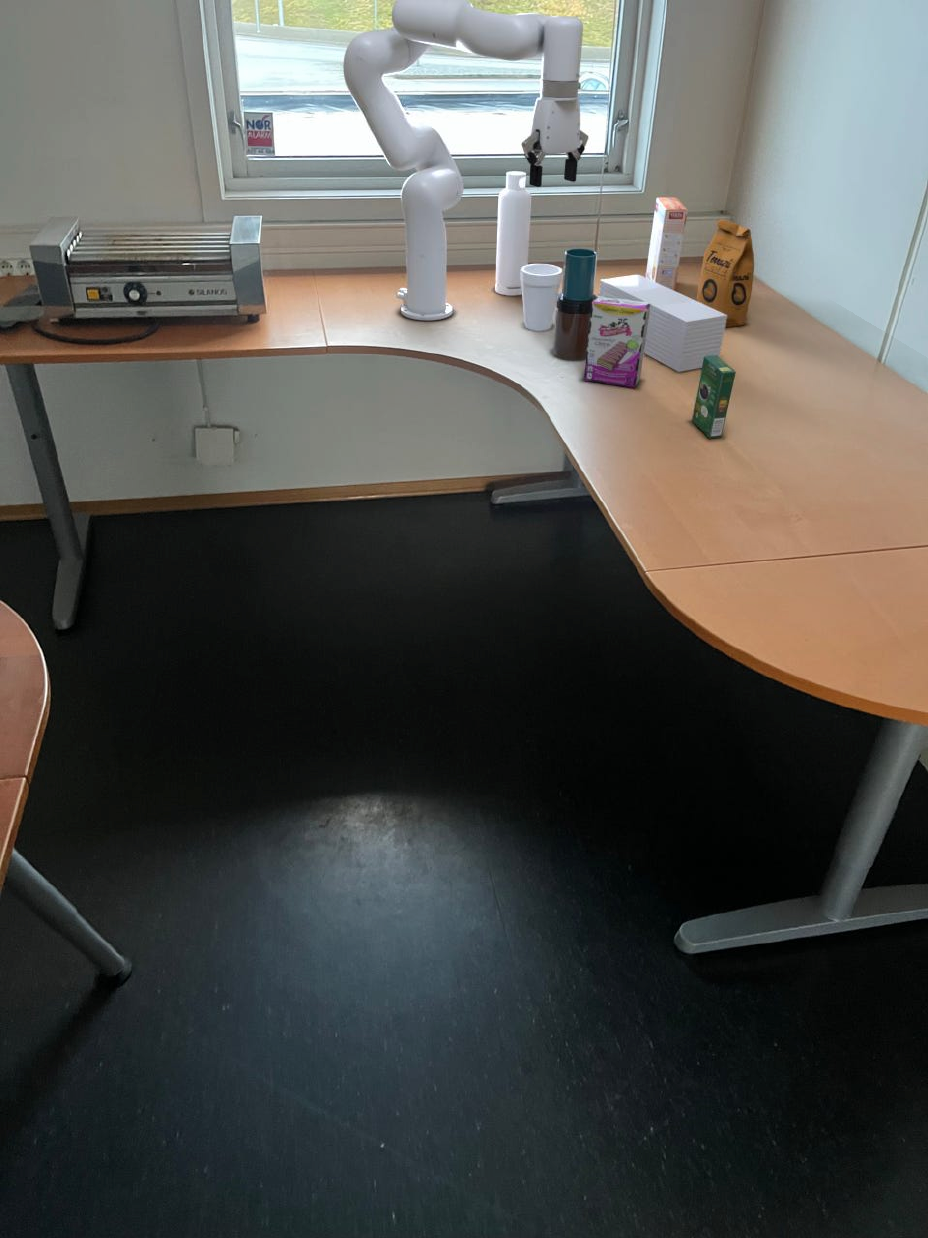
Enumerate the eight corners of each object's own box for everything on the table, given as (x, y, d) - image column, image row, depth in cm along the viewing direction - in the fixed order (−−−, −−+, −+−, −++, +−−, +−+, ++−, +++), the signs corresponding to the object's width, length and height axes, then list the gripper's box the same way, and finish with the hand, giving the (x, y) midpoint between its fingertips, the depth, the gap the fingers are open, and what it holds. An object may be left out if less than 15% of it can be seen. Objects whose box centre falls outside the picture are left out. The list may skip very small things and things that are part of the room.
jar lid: (548, 307, 196) (549, 296, 195) (570, 298, 201) (571, 287, 200) (582, 316, 192) (583, 305, 190) (603, 306, 197) (604, 295, 196)
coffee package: (716, 330, 217) (734, 232, 204) (688, 313, 226) (704, 218, 213) (751, 326, 220) (771, 229, 206) (723, 310, 229) (740, 216, 216)
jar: (545, 354, 202) (549, 300, 195) (566, 344, 207) (570, 291, 200) (577, 363, 198) (582, 308, 191) (598, 352, 203) (603, 299, 196)
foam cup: (554, 334, 212) (559, 276, 205) (515, 330, 214) (518, 273, 206) (559, 321, 220) (564, 265, 212) (521, 317, 221) (524, 262, 214)
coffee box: (723, 438, 169) (737, 370, 161) (709, 439, 168) (722, 371, 161) (704, 420, 175) (717, 353, 167) (690, 421, 175) (702, 354, 167)
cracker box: (675, 295, 238) (688, 209, 225) (652, 294, 238) (664, 208, 225) (666, 279, 249) (678, 196, 237) (644, 278, 249) (655, 195, 237)
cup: (555, 296, 195) (559, 252, 189) (572, 289, 199) (576, 246, 194) (582, 303, 192) (586, 258, 186) (598, 296, 196) (603, 252, 190)
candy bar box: (582, 381, 190) (590, 301, 180) (588, 373, 194) (596, 294, 184) (636, 389, 187) (647, 308, 177) (640, 380, 191) (651, 301, 181)
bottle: (506, 283, 243) (511, 168, 227) (532, 289, 239) (539, 172, 223) (489, 291, 238) (493, 173, 221) (515, 297, 234) (521, 178, 217)
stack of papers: (718, 364, 199) (727, 314, 192) (678, 372, 195) (686, 321, 188) (632, 319, 222) (638, 274, 215) (595, 325, 218) (600, 279, 211)
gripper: (578, 85, 190) (571, 175, 200) (513, 90, 181) (509, 184, 191) (603, 89, 185) (594, 181, 195) (538, 95, 176) (532, 191, 187)
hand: (552, 182), depth 193 cm, fingers open, 9 cm apart
